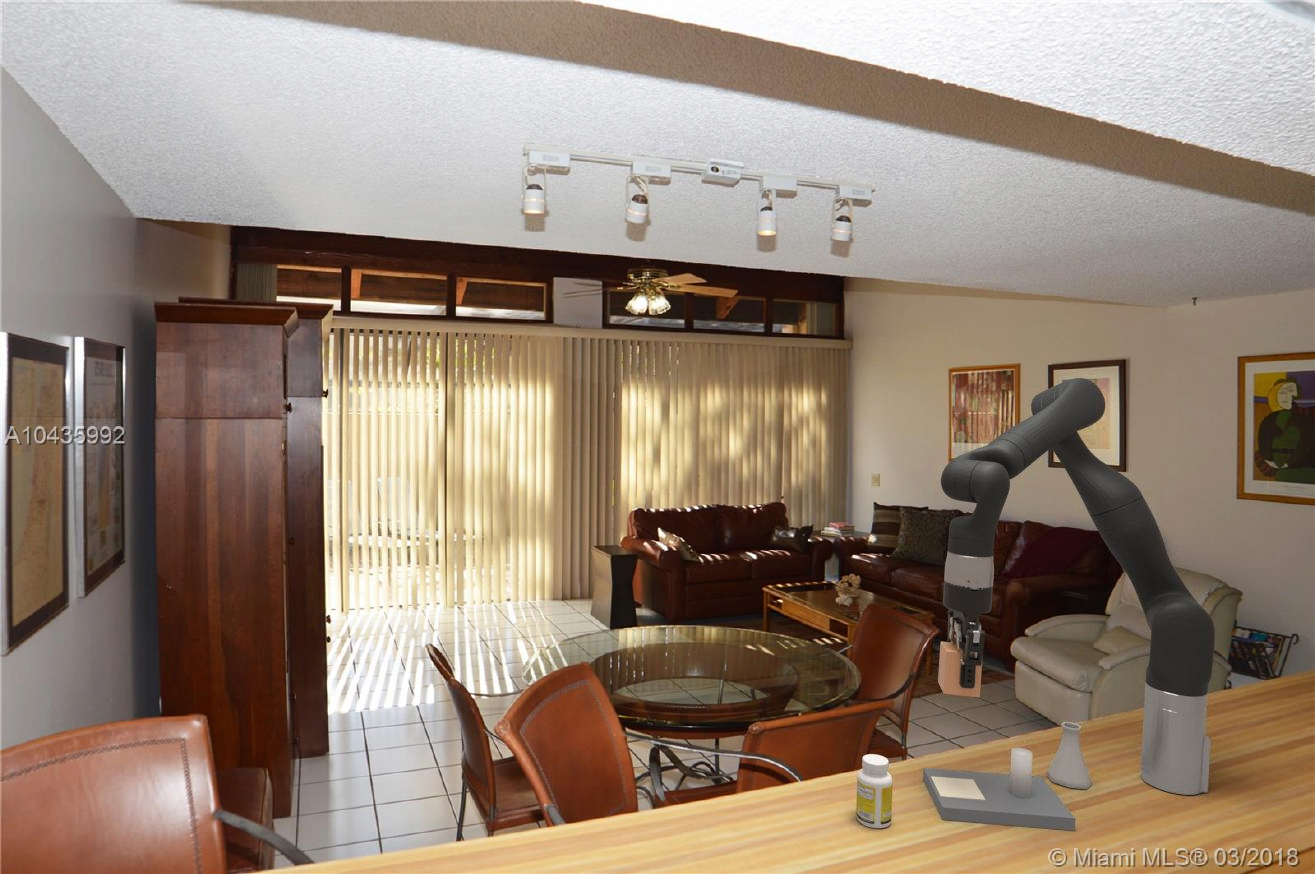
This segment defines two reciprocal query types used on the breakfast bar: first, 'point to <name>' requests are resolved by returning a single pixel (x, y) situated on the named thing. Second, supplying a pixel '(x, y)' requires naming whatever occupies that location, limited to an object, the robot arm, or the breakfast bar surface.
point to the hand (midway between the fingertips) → (961, 680)
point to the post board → (999, 796)
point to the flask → (1069, 760)
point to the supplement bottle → (874, 792)
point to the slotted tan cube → (955, 672)
